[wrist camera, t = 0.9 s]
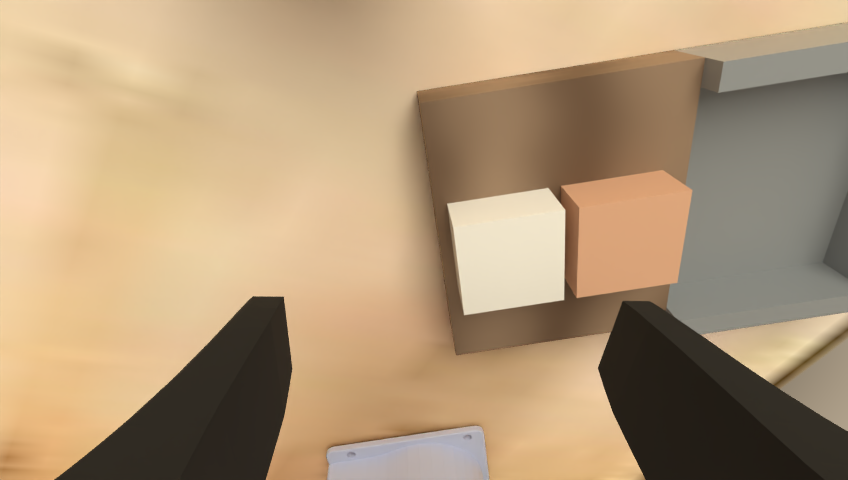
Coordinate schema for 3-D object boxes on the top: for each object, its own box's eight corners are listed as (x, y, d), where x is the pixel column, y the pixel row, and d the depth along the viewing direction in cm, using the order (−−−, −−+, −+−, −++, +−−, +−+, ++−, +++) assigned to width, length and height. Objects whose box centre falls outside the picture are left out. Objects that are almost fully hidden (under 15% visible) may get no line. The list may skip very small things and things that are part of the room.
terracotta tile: (560, 270, 20) (576, 298, 18) (561, 186, 18) (579, 207, 16) (651, 256, 20) (677, 282, 18) (662, 169, 18) (692, 190, 16)
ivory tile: (457, 286, 20) (464, 315, 18) (446, 203, 18) (453, 227, 16) (548, 272, 20) (564, 300, 18) (548, 188, 18) (565, 209, 16)
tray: (643, 298, 23) (675, 338, 21) (673, 50, 17) (723, 61, 15) (828, 270, 23) (883, 306, 21) (922, 10, 17) (1016, 15, 15)
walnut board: (451, 327, 23) (456, 355, 22) (417, 91, 18) (419, 103, 16) (643, 298, 23) (663, 324, 22) (673, 50, 17) (705, 57, 16)
